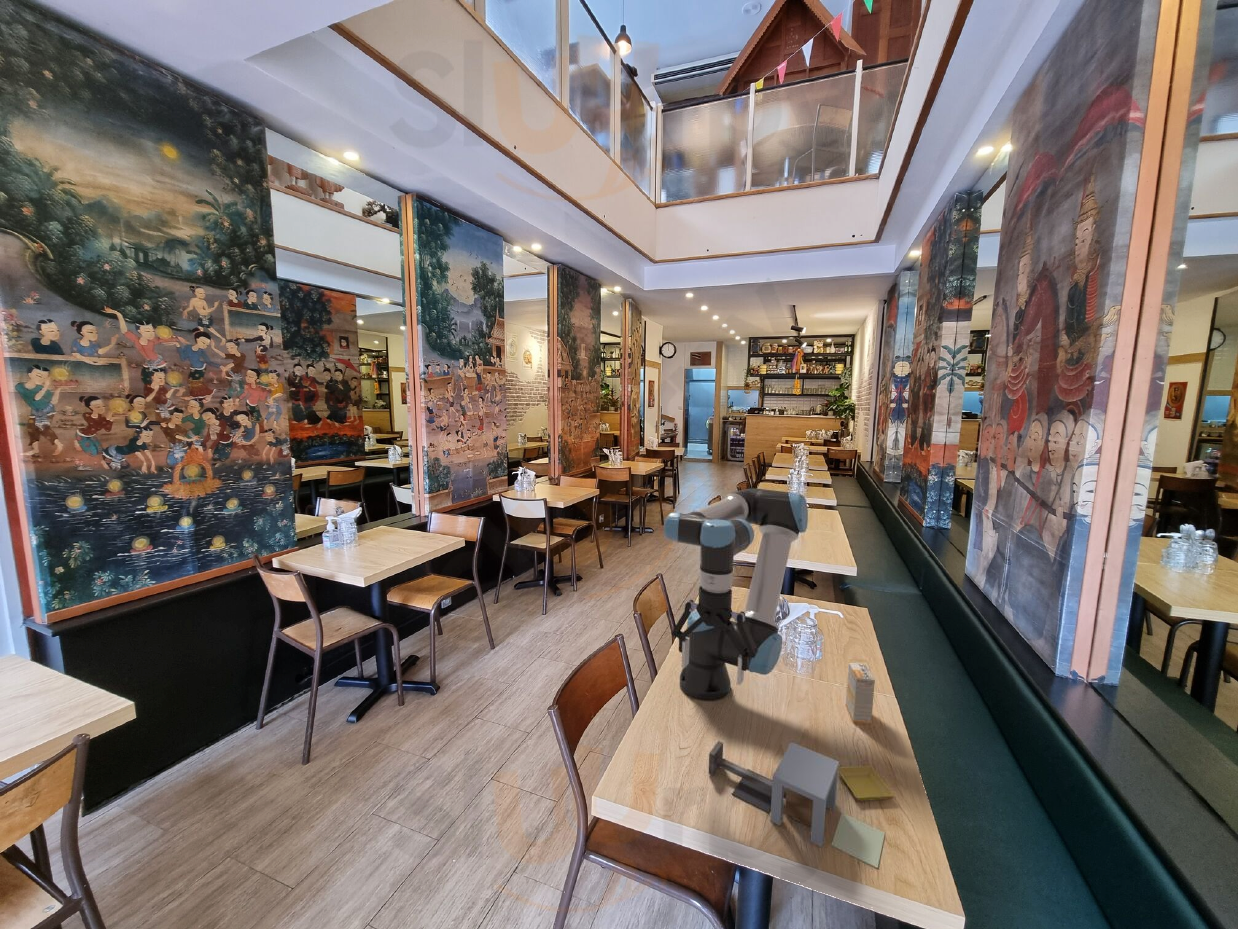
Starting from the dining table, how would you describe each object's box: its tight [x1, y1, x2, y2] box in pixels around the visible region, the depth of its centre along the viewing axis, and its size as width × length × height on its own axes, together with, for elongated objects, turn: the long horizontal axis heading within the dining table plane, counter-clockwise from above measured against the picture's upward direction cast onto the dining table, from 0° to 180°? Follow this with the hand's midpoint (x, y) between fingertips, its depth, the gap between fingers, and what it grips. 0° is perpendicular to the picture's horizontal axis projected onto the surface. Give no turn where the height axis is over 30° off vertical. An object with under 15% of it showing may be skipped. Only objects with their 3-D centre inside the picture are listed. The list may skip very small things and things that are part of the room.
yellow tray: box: [838, 765, 895, 802], centre depth 109 cm, size 9×9×2 cm
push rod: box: [708, 740, 813, 828], centre depth 107 cm, size 24×6×6 cm, turn 54°
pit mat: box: [731, 768, 773, 814], centre depth 108 cm, size 8×9×1 cm
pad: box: [831, 812, 886, 869], centre depth 96 cm, size 8×9×1 cm
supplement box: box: [845, 662, 876, 726], centre depth 133 cm, size 8×5×13 cm, turn 168°
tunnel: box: [769, 741, 840, 848], centre depth 101 cm, size 10×12×10 cm
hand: (711, 673), depth 115 cm, fingers open, 13 cm apart
